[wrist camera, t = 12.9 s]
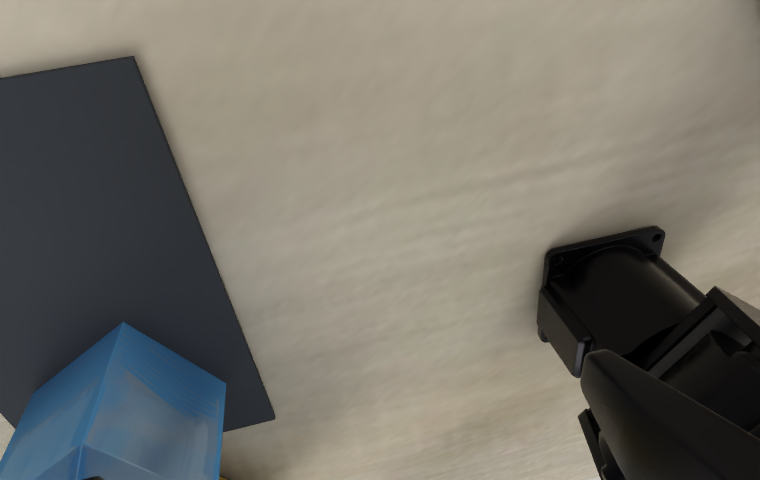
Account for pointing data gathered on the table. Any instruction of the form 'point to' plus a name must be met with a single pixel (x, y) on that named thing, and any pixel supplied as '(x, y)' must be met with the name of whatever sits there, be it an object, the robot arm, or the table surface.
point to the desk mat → (104, 238)
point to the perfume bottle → (121, 417)
